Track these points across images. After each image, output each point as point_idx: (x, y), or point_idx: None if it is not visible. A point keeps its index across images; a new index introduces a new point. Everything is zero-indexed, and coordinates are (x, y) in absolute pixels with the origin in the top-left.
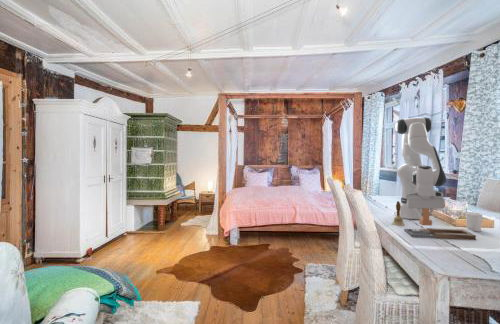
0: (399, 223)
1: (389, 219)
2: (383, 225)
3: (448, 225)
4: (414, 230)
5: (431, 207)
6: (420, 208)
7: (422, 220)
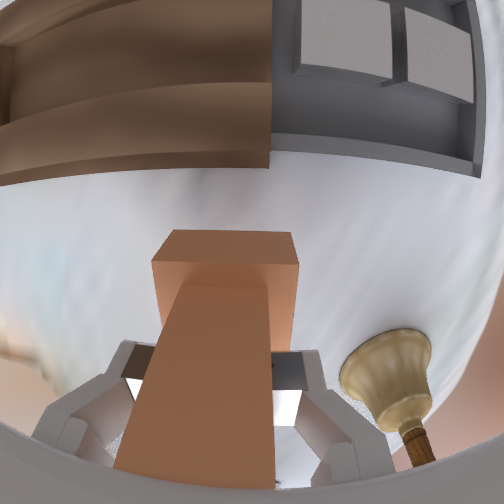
0: (408, 361)
1: None
2: (464, 355)
3: (59, 376)
4: (458, 35)
5: (45, 469)
6: (365, 479)
7: (298, 265)
